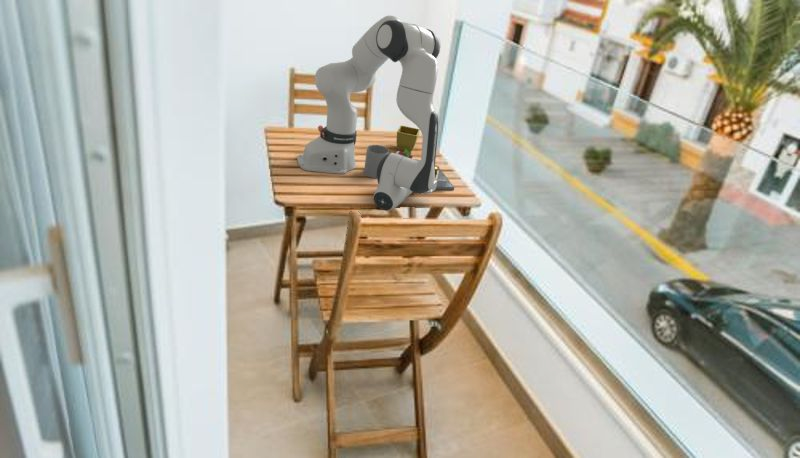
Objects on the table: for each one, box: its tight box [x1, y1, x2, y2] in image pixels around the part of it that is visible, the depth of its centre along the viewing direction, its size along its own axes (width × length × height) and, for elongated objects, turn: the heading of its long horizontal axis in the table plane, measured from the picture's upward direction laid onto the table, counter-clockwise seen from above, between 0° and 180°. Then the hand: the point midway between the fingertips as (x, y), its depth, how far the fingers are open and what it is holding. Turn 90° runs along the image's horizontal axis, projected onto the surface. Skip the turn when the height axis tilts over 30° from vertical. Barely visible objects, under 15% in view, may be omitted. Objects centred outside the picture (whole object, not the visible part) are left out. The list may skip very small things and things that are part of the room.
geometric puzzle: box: [395, 149, 414, 159], centre depth 209 cm, size 7×7×8 cm
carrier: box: [434, 167, 455, 191], centre depth 202 cm, size 12×17×4 cm
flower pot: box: [396, 125, 421, 153], centre depth 223 cm, size 9×9×9 cm
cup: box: [363, 144, 390, 179], centre depth 197 cm, size 8×8×10 cm
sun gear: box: [435, 164, 440, 174], centre depth 206 cm, size 8×8×4 cm
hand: (416, 171), depth 190 cm, fingers closed on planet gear, 4 cm apart
